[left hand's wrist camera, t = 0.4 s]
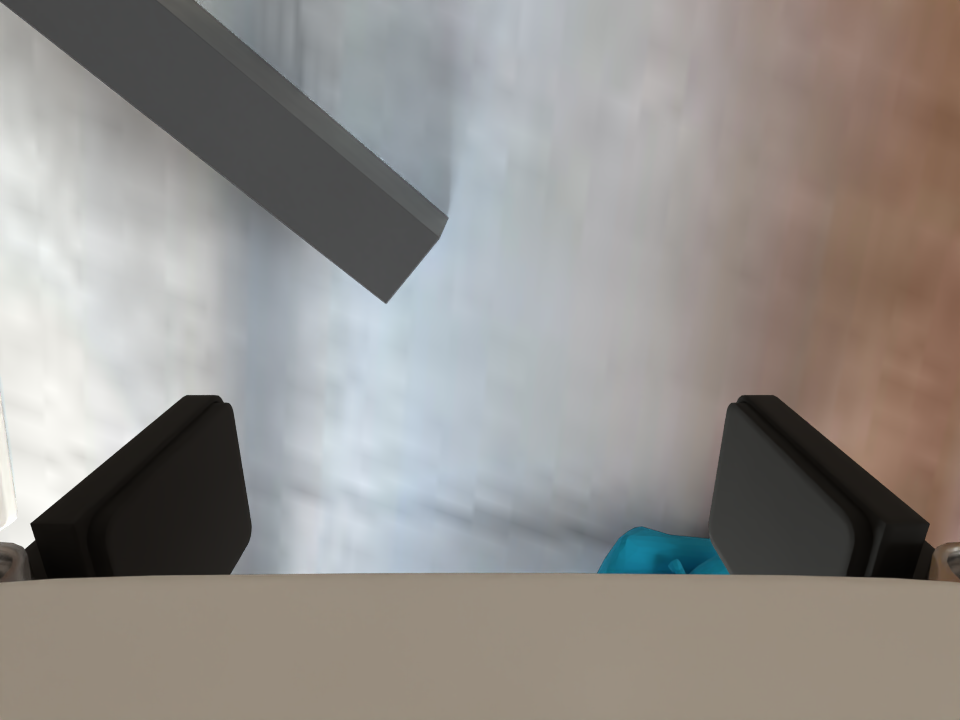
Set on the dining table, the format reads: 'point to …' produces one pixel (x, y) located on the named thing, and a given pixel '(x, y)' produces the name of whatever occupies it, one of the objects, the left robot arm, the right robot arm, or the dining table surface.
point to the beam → (249, 129)
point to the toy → (662, 555)
